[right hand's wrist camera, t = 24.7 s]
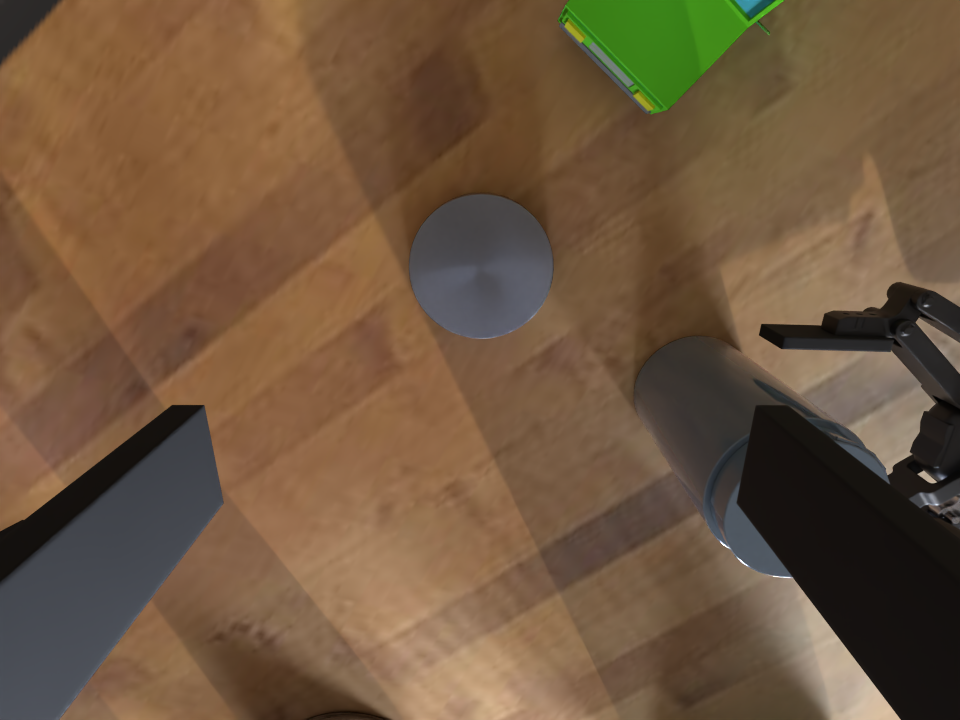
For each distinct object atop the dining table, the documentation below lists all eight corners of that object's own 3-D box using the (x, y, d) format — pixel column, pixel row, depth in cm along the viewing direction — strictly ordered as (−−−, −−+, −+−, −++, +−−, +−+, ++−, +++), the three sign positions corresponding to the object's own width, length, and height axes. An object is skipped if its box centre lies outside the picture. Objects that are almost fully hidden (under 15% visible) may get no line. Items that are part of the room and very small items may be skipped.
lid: (453, 164, 35) (452, 164, 33) (576, 238, 36) (581, 242, 35) (388, 289, 38) (384, 296, 36) (505, 353, 39) (506, 362, 37)
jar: (717, 453, 42) (839, 600, 28) (615, 424, 41) (687, 560, 27) (770, 354, 39) (935, 462, 25) (661, 321, 38) (769, 412, 24)
